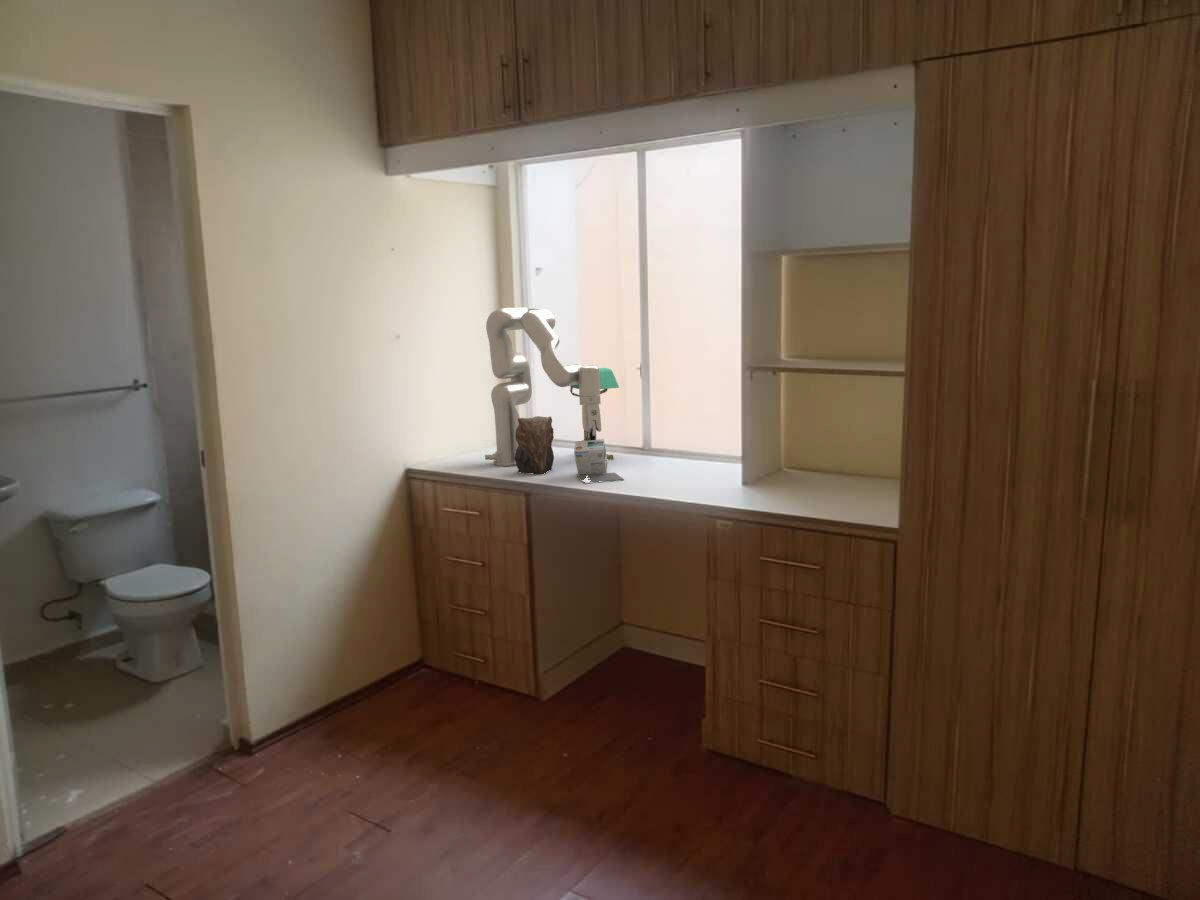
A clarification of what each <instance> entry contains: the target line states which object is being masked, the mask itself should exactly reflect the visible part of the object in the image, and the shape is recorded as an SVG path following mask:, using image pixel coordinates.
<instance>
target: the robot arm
mask: <svg viewBox="0 0 1200 900" xmlns="http://www.w3.org/2000/svg"><path fill="white" fill-rule="evenodd" d="M485 325H486V326H485V327H486V328H485V329H486V334H487V338H488V342H489V343H488V345H489V352H490V361H491V370H492V373H493V376H494V377H495V378H497V379H500V380H502V379H503V380H504V379H510V381H504V382H500V383H498V384H496V385H495V386H494V387H493V388H492V390H491V393H490V399H491V402H492V406H493V407H492V408H493V413H494V424H495V441H496V444H495V445H496V451H495V452H494V453H493V454H485V455H484V459H485V460H487V461H492V460H493V465H494V464H495V465H494V466H499V467H513V466H517V464H516V461H515V460H514V457H515V454H516V449H517V448H518V446H519V444H518V442H517V441H516V437H515V435H516V429H517V427H518V425H519V422H518V418H521V417H520V414H519V412H518V409H517V407H516V406H520V405H524V404H527V403H528V402H529V401H530V400H531V399H532V393H533V388H532V387H533V386H532V379H531V369H530V368H531V367H530V363H529V360H528V358H527V357H526V356H525V355H524V354H522V353H521V352H513V344H512V340H511V337H510V335H509V334H508V331H518V330H524V332H525V333H526V334H527V336H528V337H529V339H530V340H531V341H532V342H533V344H534V345H535V347H536V348H537V350H538V351H539V353H540V363H541V366H542V369H543V372H544V373H545V374H546V375H547V377H548V378H549V379H550V381H551V383H553V384H554V385H555V386H557V387H560V388H567V387H570V386H574V385H579V389H578V392H579V394H578V395H579V397H578V398H579V405H580V406H581V417H582V418H581V419H582V421H581V422H582V423H581V424H582V428H583V431H584V430H586V435H587V441H588V440H597V432H599V433H600V432H601V431H602V420H601V419H602V418H601V410H600V405H601V394H600V391H601V389H600V375H599V368H600V367H599V366H597V365H593V364H592V365H590V364H589V365H582V364H578V363H576V364H567V365H563V364H562V362H560V360H559V359H558V356H556V353H555V352H556V351H555V350H556V349H557V347H558V346H559V344H560V338H559V336H558V335H557V334H556V333H555V331H554V330H553V329H554V328H555V326H556V318H555V315H554V314H553V313H552V312H551V311H549V310H548V309H545V308H535V307H527V306H526V307H525V306H522V307H520V306H518V307H512V306H511V307H502V308H501V307H500V308H497V309H495V310H493V311H492V312H491V313H490V314H489V316H488V317H487V319H486V324H485Z"/></svg>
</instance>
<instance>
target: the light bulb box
mask: <svg viewBox="0 0 1200 900" xmlns="http://www.w3.org/2000/svg"><path fill="white" fill-rule="evenodd" d="M606 450H607V449H606V443H605V439H604V438H599V439H596V440H588V441H582V440H577V441H575V443H574V450H573V451H574V452H573V453H574V459H575V465H576V469H577V471H576V472H577V475H578V474H582V475H592V474H604V473H608V472H607V471H608V463H609V462H608V460H607V456H606V454H607V451H606Z"/></svg>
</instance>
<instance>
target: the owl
mask: <svg viewBox="0 0 1200 900" xmlns="http://www.w3.org/2000/svg"><path fill="white" fill-rule="evenodd" d="M518 422H519V425H518V427H517V429H516V435H515V437H516V441H517V442H518V444H519V446H518V448H517V449H516V454H515V457H514V460H515V461H516V464H517V465H516V467H517V470H518V473H519V472H521V473H520V474H526V473H533V474H532V475H538V474H544V473H545V474H546V472H547V471H549V470H550V471H552V470H551V469H553V465H554V459H555V455H554V451H553V447H552V444H553V439H554V437H555V436H554V435H555V434H554V428H553V426H552V423H553V419H552V416H538V415H537V416H533V417H527V418H525V417H520V418H518ZM550 471H549V472H550ZM547 473H548V472H547ZM545 474H544V475H545Z"/></svg>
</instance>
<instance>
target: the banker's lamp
mask: <svg viewBox="0 0 1200 900" xmlns="http://www.w3.org/2000/svg"><path fill="white" fill-rule="evenodd" d="M598 368H599V375H600V395H601V394H605V393H607V392H608V389H618V388H620V386H619V384H618V381H617V379H616V376H615V373H614V372H613V370H612V369H611V368H607V367H598ZM569 387H570V389H569V390H570V393H571V395H572V396H574V397H578V398H579V394H578V393H575V392H573V390H574V389H577V390H579V385H574V386H569ZM581 441H587V435H586V430H584V429H583V440H581ZM606 456H607V459H611V460H614V454H608V453H606Z"/></svg>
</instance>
